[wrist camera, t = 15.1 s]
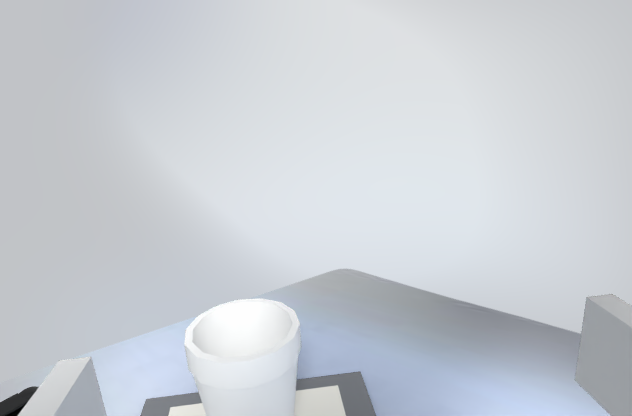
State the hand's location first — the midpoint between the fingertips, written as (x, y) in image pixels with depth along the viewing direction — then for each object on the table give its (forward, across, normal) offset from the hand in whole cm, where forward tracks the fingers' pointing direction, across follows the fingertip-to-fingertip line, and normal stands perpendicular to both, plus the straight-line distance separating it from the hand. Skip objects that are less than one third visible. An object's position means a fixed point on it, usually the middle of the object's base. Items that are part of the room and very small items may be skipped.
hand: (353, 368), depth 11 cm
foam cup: (+22, -6, -25) cm, 33 cm away
